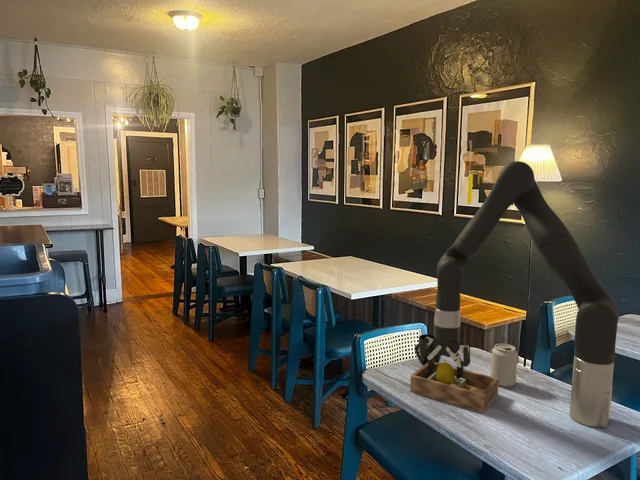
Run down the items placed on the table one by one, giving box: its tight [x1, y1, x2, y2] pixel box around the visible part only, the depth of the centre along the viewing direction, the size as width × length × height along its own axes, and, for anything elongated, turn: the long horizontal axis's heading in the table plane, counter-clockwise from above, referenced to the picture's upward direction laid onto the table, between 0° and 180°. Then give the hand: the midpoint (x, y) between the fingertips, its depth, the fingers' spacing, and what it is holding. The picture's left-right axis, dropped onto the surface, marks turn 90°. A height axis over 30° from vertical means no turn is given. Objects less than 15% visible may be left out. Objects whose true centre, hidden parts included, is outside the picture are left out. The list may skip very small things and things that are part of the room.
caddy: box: [409, 362, 499, 414], centre depth 143 cm, size 22×14×5 cm, turn 54°
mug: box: [414, 333, 442, 367], centre depth 163 cm, size 8×12×10 cm
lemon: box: [436, 361, 455, 385], centre depth 145 cm, size 6×6×8 cm
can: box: [490, 343, 519, 388], centre depth 150 cm, size 8×8×12 cm
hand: (444, 374), depth 145 cm, fingers open, 8 cm apart
